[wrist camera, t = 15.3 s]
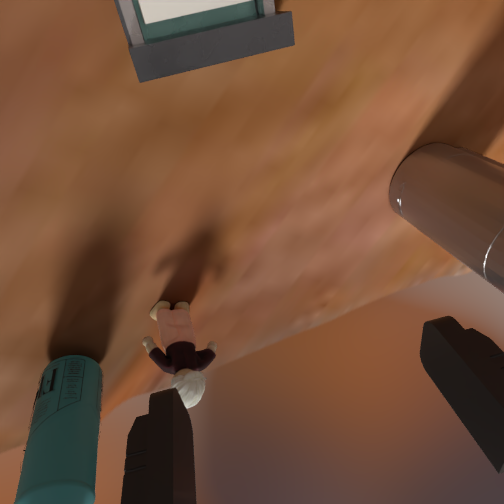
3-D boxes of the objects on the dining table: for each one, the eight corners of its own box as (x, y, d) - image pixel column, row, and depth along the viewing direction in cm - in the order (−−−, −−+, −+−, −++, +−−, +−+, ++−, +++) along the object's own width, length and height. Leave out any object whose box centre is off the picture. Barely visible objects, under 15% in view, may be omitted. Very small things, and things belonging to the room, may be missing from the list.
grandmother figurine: (141, 325, 43) (145, 423, 33) (140, 299, 41) (145, 395, 31) (206, 320, 45) (229, 410, 35) (209, 295, 43) (234, 383, 33)
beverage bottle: (58, 336, 41) (13, 551, 24) (115, 352, 44) (108, 549, 28) (33, 375, 42) (-24, 598, 26) (90, 387, 46) (69, 591, 30)
